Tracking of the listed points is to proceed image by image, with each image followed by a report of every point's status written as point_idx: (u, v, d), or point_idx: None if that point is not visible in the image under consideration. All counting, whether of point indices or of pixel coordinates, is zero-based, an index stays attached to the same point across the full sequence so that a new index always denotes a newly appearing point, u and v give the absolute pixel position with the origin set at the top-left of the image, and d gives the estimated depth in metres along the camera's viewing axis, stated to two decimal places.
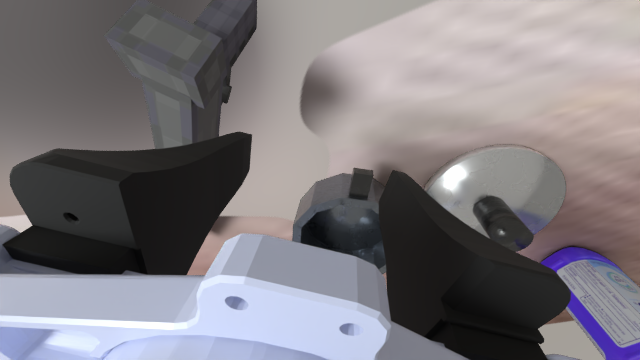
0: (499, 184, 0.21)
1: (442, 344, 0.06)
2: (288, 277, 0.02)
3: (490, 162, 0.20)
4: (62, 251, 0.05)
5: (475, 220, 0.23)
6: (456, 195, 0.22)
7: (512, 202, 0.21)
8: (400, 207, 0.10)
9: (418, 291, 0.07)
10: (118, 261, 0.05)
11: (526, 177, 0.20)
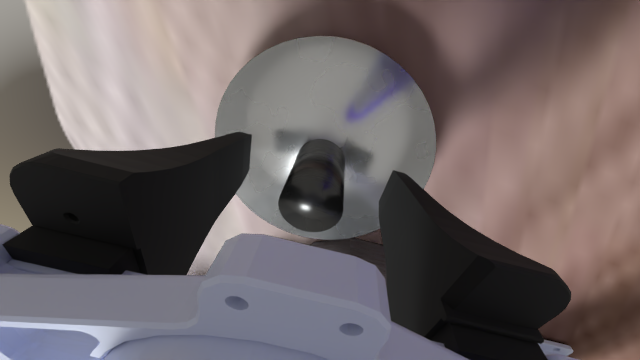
0: (274, 154, 0.13)
1: (442, 344, 0.06)
2: (288, 277, 0.02)
3: None
4: (62, 251, 0.05)
5: (347, 175, 0.13)
6: None
7: (309, 128, 0.12)
8: (400, 207, 0.10)
9: (418, 291, 0.07)
10: (118, 261, 0.05)
11: (259, 119, 0.12)
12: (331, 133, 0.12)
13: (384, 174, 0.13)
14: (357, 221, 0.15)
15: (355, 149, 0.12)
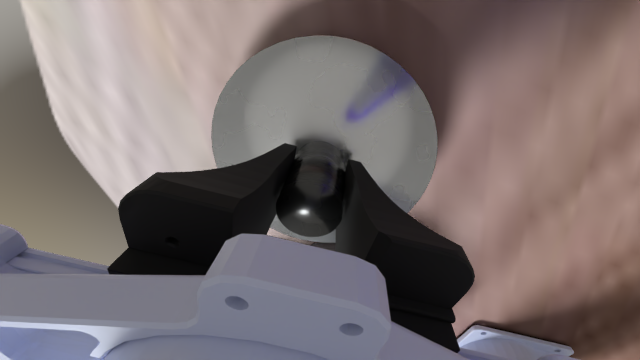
0: None
1: None
2: (288, 277, 0.02)
3: None
4: (163, 274, 0.05)
5: None
6: None
7: (308, 129, 0.12)
8: (348, 194, 0.10)
9: None
10: None
11: (256, 121, 0.12)
12: (330, 135, 0.12)
13: (384, 176, 0.13)
14: None
15: (355, 151, 0.12)
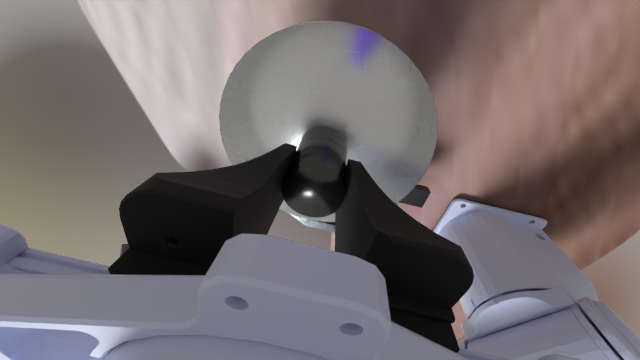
0: (278, 143, 0.13)
1: None
2: (288, 277, 0.02)
3: None
4: (164, 275, 0.05)
5: None
6: None
7: (309, 116, 0.12)
8: (347, 194, 0.10)
9: None
10: None
11: (259, 111, 0.12)
12: (331, 119, 0.12)
13: (387, 156, 0.13)
14: None
15: (356, 134, 0.12)
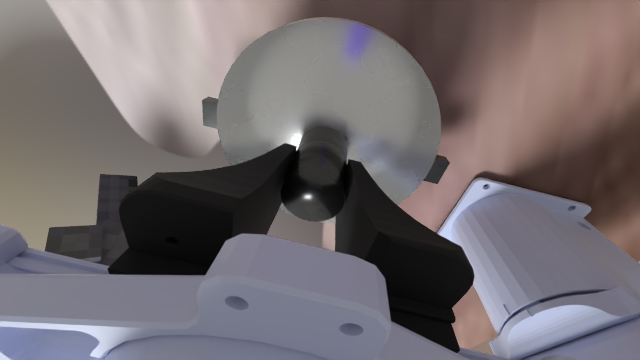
0: (277, 145, 0.13)
1: None
2: (288, 277, 0.02)
3: None
4: (163, 274, 0.05)
5: None
6: None
7: (308, 116, 0.12)
8: (348, 194, 0.10)
9: None
10: None
11: (257, 112, 0.12)
12: (330, 120, 0.12)
13: (389, 156, 0.13)
14: None
15: (356, 134, 0.12)
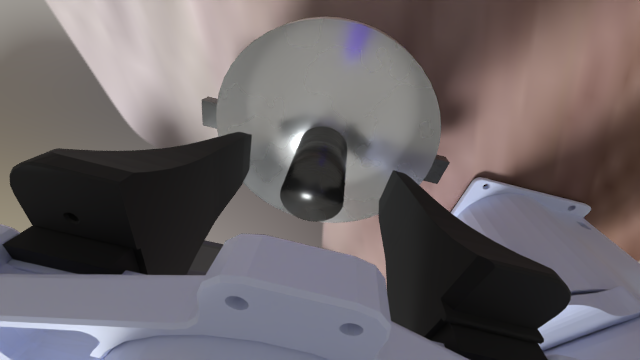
0: (276, 145, 0.13)
1: (442, 344, 0.06)
2: (288, 277, 0.02)
3: None
4: (62, 251, 0.05)
5: (351, 160, 0.13)
6: None
7: (308, 116, 0.12)
8: (400, 207, 0.10)
9: (418, 291, 0.07)
10: (118, 261, 0.05)
11: (257, 112, 0.12)
12: (330, 119, 0.12)
13: (388, 156, 0.13)
14: (365, 203, 0.15)
15: (356, 133, 0.12)
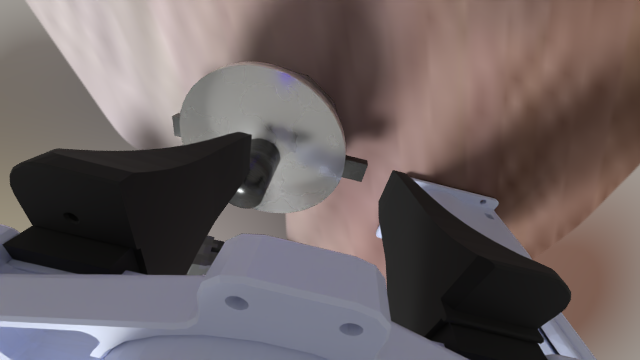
0: None
1: (442, 344, 0.06)
2: (288, 277, 0.02)
3: None
4: (62, 251, 0.05)
5: (284, 163, 0.17)
6: None
7: (247, 131, 0.16)
8: (400, 207, 0.10)
9: (418, 291, 0.07)
10: (118, 261, 0.05)
11: (209, 128, 0.16)
12: (263, 133, 0.16)
13: (311, 160, 0.17)
14: (302, 197, 0.19)
15: (284, 144, 0.16)
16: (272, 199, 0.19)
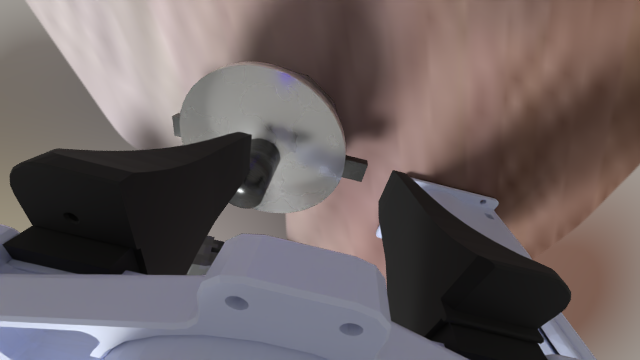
0: None
1: (442, 344, 0.06)
2: (288, 277, 0.02)
3: None
4: (62, 251, 0.05)
5: (284, 163, 0.17)
6: None
7: (247, 131, 0.16)
8: (400, 207, 0.10)
9: (418, 291, 0.07)
10: (118, 261, 0.05)
11: (209, 128, 0.16)
12: (263, 133, 0.16)
13: (311, 160, 0.17)
14: (302, 197, 0.19)
15: (284, 144, 0.16)
16: (272, 199, 0.19)
